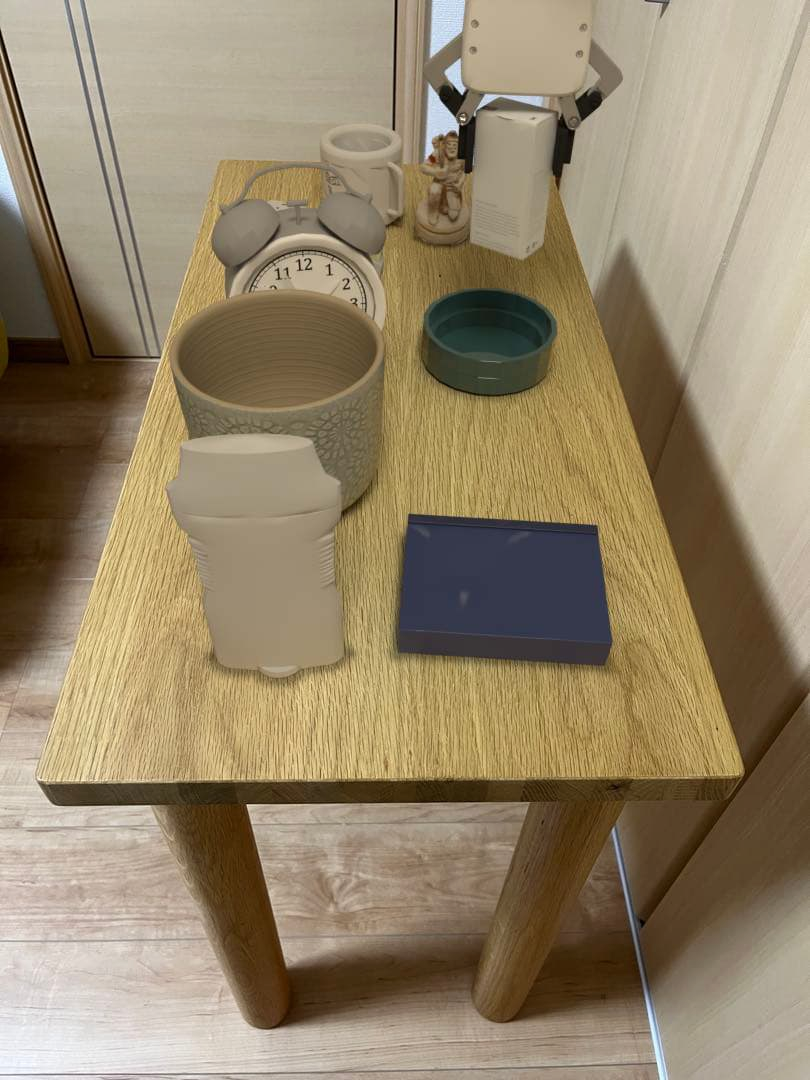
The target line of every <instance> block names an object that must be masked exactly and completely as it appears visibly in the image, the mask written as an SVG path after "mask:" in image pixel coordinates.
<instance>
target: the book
mask: <svg viewBox="0 0 810 1080" xmlns="http://www.w3.org/2000/svg"><path fill="white" fill-rule="evenodd" d="M599 533H600V532H599V526H598V524H589V523H572V522H555V521H539V520H538V521H537V520H520V519H504V518H488V517H471V516H455V515H454V516H453V515H436V514H422V513H421V514H419V513H408V514H407V525H406V536H405V537H406V538H405V549H404V561H403V572H402V583H401V596H400V607H399V619H398V620H399V621H398V630H397V631H398V633H397V634H398V635H397V636H398V637H397V653H401V654H415V655H416V654H417V655H432V656H445V657H446V656H449V657H463V658H479V659H491V660H493V659H494V660H510V661H525V662H539V663H555V664H556V663H557V664H569V665H570V664H571V665H573V664H574V665H586V666H587V665H588V666H601V667H602V666H603V667H604V666H605V665H606V663H607V660H608V658H609V654H610V653H611V652H610V651H611V649H612V646H613V637H612V629H611V627H612V626H611V620H610V613H609V605H608V599H607V598H608V597H607V591H606V584H605V576H604V567H603V561H602V553H601V545H600V536H599V535H600V534H599Z"/></svg>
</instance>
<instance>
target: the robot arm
mask: <svg viewBox="0 0 810 1080" xmlns="http://www.w3.org/2000/svg"><path fill="white" fill-rule="evenodd" d="M595 4H596V0H464V9H463V20H462V29H461V32H459V33H458V34H457V35H456V36H455V37H453V38H452V39H451V40H450V41H449V42H448V43H446V44H445V45H444V46H443V47H442V48H440V50H438V51H437V52H436V53H435V54H434V55H432V56H431V57H430V58H429V59H428V60H427V61H425V63H424V65H423V69H422V74H423V76H424V78H425V79H426V81H427V82H428V84H429V86H430V87H431V88H432V89H433V91H434V92H435V93H436V95H437V96H438V99H439V100H440V102H441V103H442V104H443V105H444V107H445V108H446V109H447V110H448V111H449V112H450V114H451V115H452V116H453V117H454V118H455V122H456V123H457V124H458V133H457V134H458V152H457V159H460V160H465V168H464V174H467V175H471V173H473V163H474V143H475V128H476V123H475V117H476V115H475V114H476V110H477V109H479V106H480V105H481V102H482V101H483V99H484V97H485V96H486V95H493V96H494V95H495V96H515V97H543V98H556V99H557V102H558V105H559V107H560V110H561V113H560V115H559V118H558V126H557V133H556V142H555V150H554V159H553V166H552V176H554V178H556V179H557V178H560V179H561V178H562V174H563V168H564V165H570V164H571V161H572V156H573V149H574V144H575V143H574V142H575V135H576V130H577V129H579V128H580V127H581V125H582V122H583V121H585V120H586V119H587V118H588V117H590V116H591V115H592V114H593V113H594V112H595V111H596V110H598V109H599V108H600V107H601V105H602V103H603V102H604V101H605V100H606V99H607V98H608V97H610V95H611V94H612V93H613V92H614V91H615V90H616V89H617V88H618V87H620V85H621V84H622V82H623V80H624V76H623V72H622V70H621V68H620V67H619V66H618V65H617V64H616V63H615V61H613V59H612V58H611V57H610V56H609V55H608V54H607V53H606V52H605V50H604V49H603V48H602V47H601V46H600V45H599V44H598V42H596V40H595V39H594V38H593V36H592V35H593V26H594V14H595V6H596V5H595ZM459 60H460V78H461V79H460V80H461V84H462V86H463V87H464V91H463V92H462V94H461V92H460V91H459V90H458V89H457V87H456V86H455V84H453V83H452V82H451V81H450V80H449V78H448V76H447V75H446V70H448V69H449V68H451V66H453V65H454V64H455V63H456V62H457V61H459ZM589 66H591V68H592V69H593V70H594V71H595V72H596V73H597V74H598V75H599V77H598V79H597V80H596V81H595V83H594V84H593V85H592V86H590V87H589V88H588V89H587V90H586V91H584V92H583V93H582V94H581V95H580V96H579V97H578V98H576V96H575V95H576V94H578V93H579V92H581V90H583V88H584V86H585V82H586V79H587V74H588V67H589Z"/></svg>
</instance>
